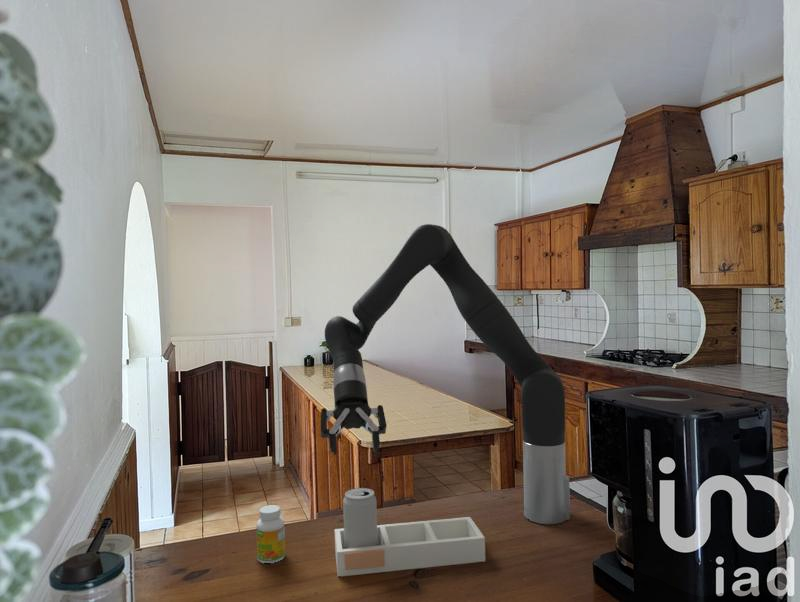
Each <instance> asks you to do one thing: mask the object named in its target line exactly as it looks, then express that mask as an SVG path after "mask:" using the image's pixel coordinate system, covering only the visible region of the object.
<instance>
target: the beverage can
mask: <svg viewBox="0 0 800 602" xmlns="http://www.w3.org/2000/svg"><path fill="white" fill-rule="evenodd" d="M342 507H343V510H342V511H343V528H344V545H345V549H350V548H361V547H371V546H378V539H377V525H378V511H377V509H378V508H377V497H376V496H375V491H374V490H373V489H371V488H366V487H357V488H352V489H349V490H347V491H346V492H345V493H344V498H343V500H342Z"/></svg>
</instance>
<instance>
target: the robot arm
mask: <svg viewBox="0 0 800 602" xmlns="http://www.w3.org/2000/svg"><path fill="white" fill-rule="evenodd" d="M428 266H430V267H431V268H433V270H434V271H435V272H436V273H437V274H438V276H439V277H440V278H441V279H442V280H443V281H444V284H446V286H447V288H448V290H449V292H450V293H451V296H452V298H453V300H454V301H453V302H454V303H455V305H456V307H457V309H458V311H459V313H460V315H461V316H462V319H464V321H465V322H466V324H467V325H468V326H469V327H470V329H471V331H472V332H473V333H474V334H475V335H476V337H477V338H478V339H479V340H480V341H481V342H482V343H483V344H484V345H485V346H486V347H487V348H488V349H489V350H490V351H491V352H492V353H494V355H496V356H497V357H498V358H499V359H500V360H501V361H502V362H503V364H505V365H506V367H507V368H508V369H509V371H510V372H511V374H512V375H513V377H514V379H515V380H516V382H517V383H518V385H519V387H520V388H521V391H520V392H521V393H520V396H521V398H520V399H521V429H522V454H523V455H522V457H523V458H522V461H523V463H522V464H523V472H522V473H523V515H524V517H525V518H526V519H527V520H528V519H529V520H528V521H531V522H534V523H535V524H541V525H557V524H561V523H564V522H565V521H567V520H569V519H570V520H571V501H570V500H571V499H570V497H571V495H570V492H571V491H570V488H571V487H570V477H569V476H568V475H567V474H566V394H565V393H566V392H565V387H564V383H563V380H562V379H561V377H560V375H558V373H557V372H555V370H554V369H553V368H552V367H550V366H549V365H550V364H549V365H548V363H547V362H546V361H545V360H544V359H543V358H542V357H541V355H539V353H537V352H536V350H535V349H534V348H533V347H532V345H531V344H530V343H529V341H528V340H527V339H526V337H525V335H524V333H523V331H522V329H521V328H520V326H519V325H518V323H517V321H516V320H515V319H514V318H513V316H512V315H511V313H510V311H509V310H508V309H507V308H506V306H505V305H504V303H503V302H502V301H501V300H500V299H499V297H498V296H497V295H496V294H495V292H494V291H493V290H492V289H491V288H490V286H488V284H487V283H486V282H485V281H484V279H483V278H481V276H480V275H479V274H478V273H477V272H476V271H475V270H474V268H472V266H471V265H470V263H469V262H468V261H467V259H466V257H465V256H464V254H463V253H462V251H461V249H460V248H459V246H458V244H457V243H456V241H455V240H454V238H453V236H452V235H451V233H450V232H449V231H448V230H447V229H446V228H444V226H441V225H437V224H431V223H425V224H422V225H420V226H418V227H416V228H415V229H414V230H413V231H412V233H411V234H410V235H409V237H408V238H407V240H406V241H405V243H404V244H403V246H402V248H401V249H400V251H399V252H398V253H397V255H396V256H395V258H394V259H393V260H392V262H391V263H390V264H389V265H388V267H386V269H385V271H383V273H381V274H380V276H379V277H378V278H377V279H376V280H375V281H374V282H373V284H372V285H371V286H370V287H369V288H368V289H367V290H366V291H365V292H364V293H363V294H362V295H361V297H359V299H357V301H356V302H355V303H354V305H353V306H352V308H351V309H352V313H353V315H354V316H355V318H356V319H357V320H358V322H357V323H355V322H353V321H351V320H349V319H348V318H346V317H344V316H339V315H336V316H333V317H331V318H330V319H329V320H328V322H327V323H326V325H325V328H324V339H325V343H326V345H327V349H328V352H329V354H330V356H331V359H332V365H333V368H332V369H333V379H332V383H333V387H332V388H333V399H334V408H333V410H327V408H325V407H324V408H321V410H320V411H321V412H320V437H321V438H322V439H324V438H327V439H328V441H329V442H328V443H329V451H330V453H333V455H334V456H335V455H337V453H338V450H337V449H338V448H337V436H338V435H339V434H340V433H341V432H342V430H343V429H346V430H350V429H361V428H363V430H365V431H366V432H368V433H369V434H370V435H371V441H372V452H373V453H377V452H378V450H379V449H380V446H381V441H380V435H384V434H386V431H387V421H386V416H385V412H384V406H383V405H382V404H378V405H377V407H370V406H369V400H368V399H369V398H368V390H367V382H366V376H365V372H364V365H363V364H364V363H363V357H362V352H360V350H361V349H362V348H363V347H364V346H365V344H366V342H367V340H368V338H369V336H370V334H371V332H372V331H373V329H374V328H375V325H376V323H377V322H378V321H379V320H380V319H381V318H382V317H383V316H384V315H385V314H386V313H387V311H389V309H391V308H392V306H393V305H394V304H395V303H396V301H397V299H398V298H399V297H400V295H401V294H402V292H403V291H404V289H405V288H406V286H407V285H408V284H409V283H410V282H411V281H412V280H413V278H414V277H416V276H417V275H418V274H419V273H420V272H422V271H423V270H424V269H425V268H427V267H428ZM371 415H373V416H374V418H376V419H377V422H378V426H377V425H376V424H375V423H374V421H373V420H372V418H370V417H371ZM332 417H333V419H335V421H334V423H333V425H332V426H331V428H330V429H328V428H327V422H329V421H330V420H331V418H332Z"/></svg>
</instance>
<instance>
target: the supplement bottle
mask: <svg viewBox="0 0 800 602" xmlns="http://www.w3.org/2000/svg"><path fill="white" fill-rule="evenodd" d="M281 513H282V512H281V507H280V505H277V504H276V505H275V504H269V505H265V506H262V507H261V508H259V520H257V522H256V528H255V529H256V530H255V531H256V558H257V561H258V562H259V563H261V564H264V563H271V564H276V563H279V562H281V561H282V560H283V559H284V558H285V556H286V536H285V533H286V532H285V529H286V528H285V520H284V518H283V517H282V516H281ZM280 560H281V561H280ZM278 561H279V562H278ZM275 562H276V563H275Z"/></svg>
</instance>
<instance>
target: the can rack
mask: <svg viewBox="0 0 800 602" xmlns="http://www.w3.org/2000/svg"><path fill="white" fill-rule="evenodd" d="M377 539H378V546H371V547H361V548H350V549H345V545H344V527H342V528H334V548H335V549H334V552H335V562H336V563H335V564H336V573H337V577H339V576H340V577H348V576H357V575H358V576H359V575H366V574H367V575H368V574H376V573H377V574H378V573H386V572H387V573H388V572H395V571H405V570H413V569H414V570H415V569H424V568H433V567H442V566H452V565H454V566H455V565H462V564H463V565H464V564H472V563H481V562H482V563H483V562H486V537H485V535H484V534H483V533H482V531H481V530H480V529H479V527H478V526H477V525H476V524H475V521H473V519H472V517H470V516H465V517H463V516H462V517H455V518H452V517H451V518H445V519H444V518H443V519H441V518H440V519H431V520H430V519H429V520H422V521H411V522H399V523H397V522H396V523H389V524H388V523H387V524H379V525H378V524H377Z"/></svg>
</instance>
